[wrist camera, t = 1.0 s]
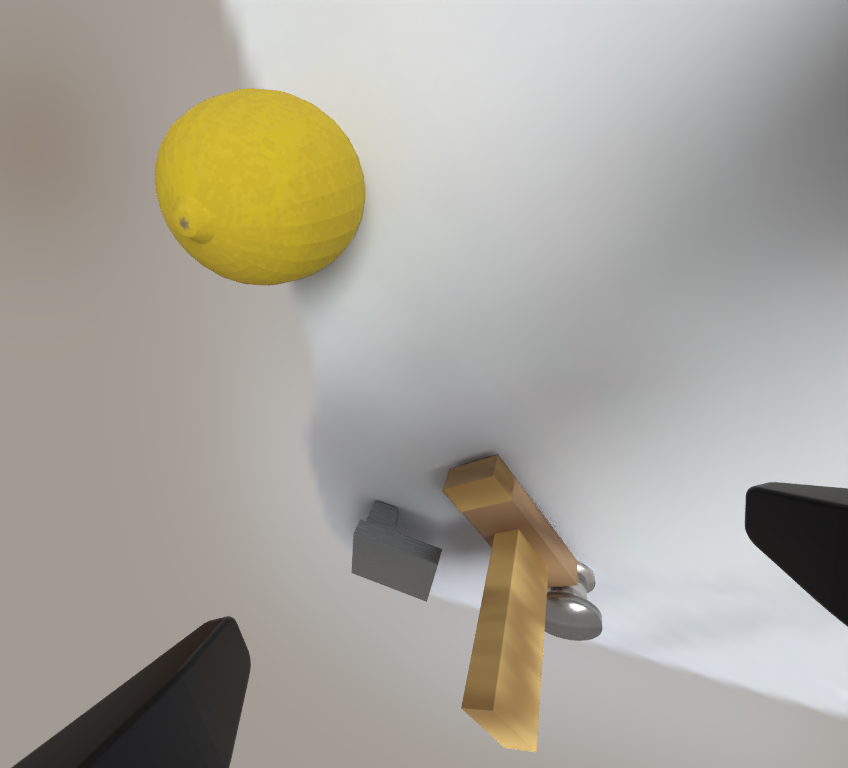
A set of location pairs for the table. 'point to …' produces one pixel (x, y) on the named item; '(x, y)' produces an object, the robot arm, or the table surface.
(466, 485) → the link
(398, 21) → the table surface
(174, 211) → the lemon
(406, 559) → the block
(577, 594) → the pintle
